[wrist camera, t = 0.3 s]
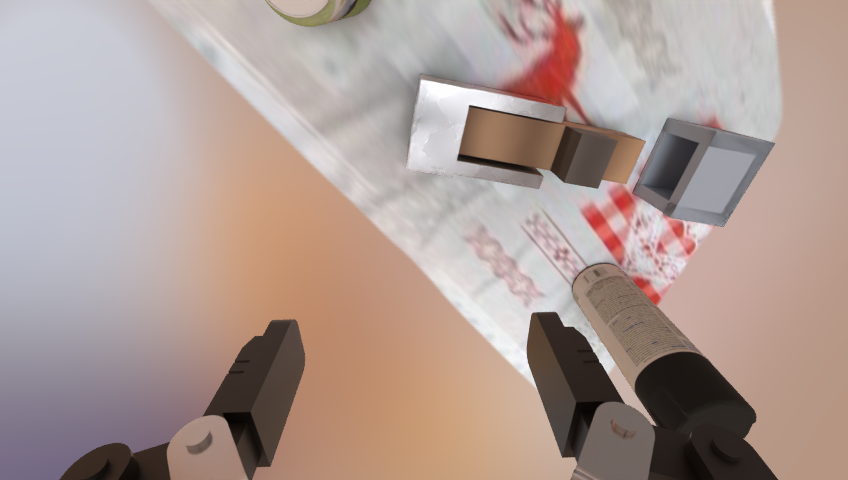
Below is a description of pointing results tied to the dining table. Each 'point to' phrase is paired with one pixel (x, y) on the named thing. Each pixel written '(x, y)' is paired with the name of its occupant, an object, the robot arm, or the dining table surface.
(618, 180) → the walnut bar
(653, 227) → the dining table surface
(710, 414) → the spray can
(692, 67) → the dining table surface
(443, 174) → the channel
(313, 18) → the beverage can
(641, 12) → the dining table surface
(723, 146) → the socket
